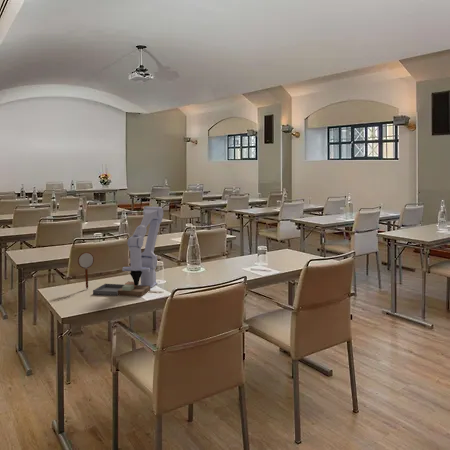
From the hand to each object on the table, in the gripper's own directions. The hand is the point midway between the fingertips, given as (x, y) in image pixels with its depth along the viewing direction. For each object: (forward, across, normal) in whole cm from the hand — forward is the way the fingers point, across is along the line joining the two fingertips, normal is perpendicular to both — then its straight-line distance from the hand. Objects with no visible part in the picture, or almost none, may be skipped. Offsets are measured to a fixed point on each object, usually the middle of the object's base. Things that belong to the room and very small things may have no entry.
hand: (136, 284), depth 255 cm
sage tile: (+1, -2, -6) cm, 6 cm away
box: (+3, -13, -3) cm, 14 cm away
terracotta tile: (+1, -3, 0) cm, 3 cm away
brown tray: (+3, 0, -3) cm, 5 cm away
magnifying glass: (+4, -28, -1) cm, 28 cm away
